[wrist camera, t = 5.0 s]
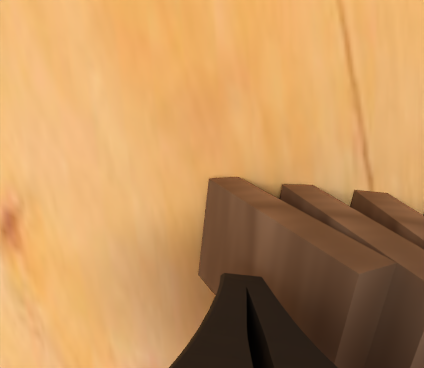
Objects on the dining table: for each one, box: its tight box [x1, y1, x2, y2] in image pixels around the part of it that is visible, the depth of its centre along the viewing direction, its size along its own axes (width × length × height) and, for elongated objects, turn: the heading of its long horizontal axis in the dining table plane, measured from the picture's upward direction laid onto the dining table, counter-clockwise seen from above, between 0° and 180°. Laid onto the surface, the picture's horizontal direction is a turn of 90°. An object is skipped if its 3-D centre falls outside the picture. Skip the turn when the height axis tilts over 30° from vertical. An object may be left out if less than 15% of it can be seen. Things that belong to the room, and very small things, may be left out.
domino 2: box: [351, 190, 424, 249], centre depth 13 cm, size 2×5×8 cm, turn 174°
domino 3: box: [280, 185, 424, 368], centre depth 13 cm, size 2×5×8 cm, turn 174°
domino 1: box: [198, 177, 397, 368], centre depth 13 cm, size 2×5×8 cm, turn 175°
